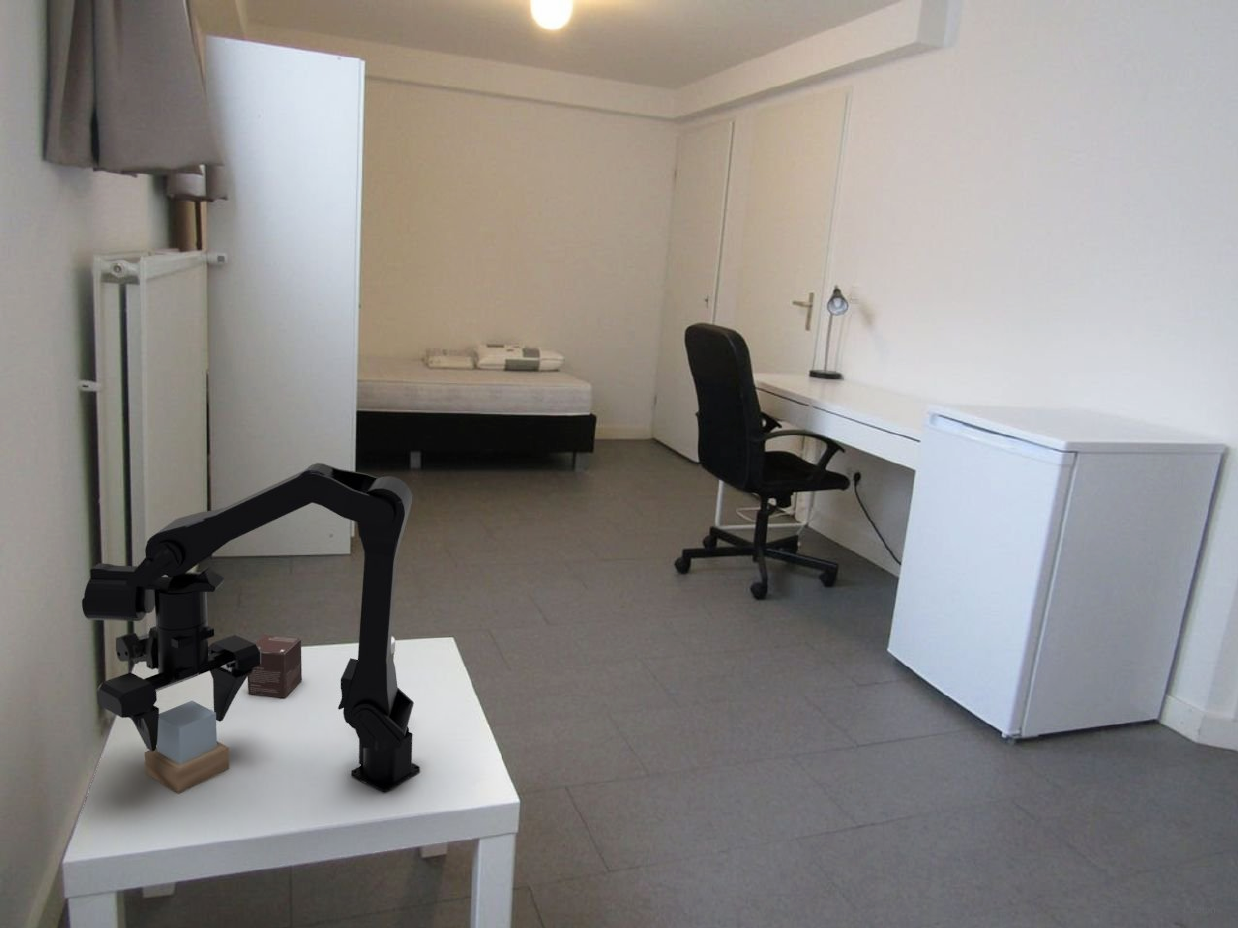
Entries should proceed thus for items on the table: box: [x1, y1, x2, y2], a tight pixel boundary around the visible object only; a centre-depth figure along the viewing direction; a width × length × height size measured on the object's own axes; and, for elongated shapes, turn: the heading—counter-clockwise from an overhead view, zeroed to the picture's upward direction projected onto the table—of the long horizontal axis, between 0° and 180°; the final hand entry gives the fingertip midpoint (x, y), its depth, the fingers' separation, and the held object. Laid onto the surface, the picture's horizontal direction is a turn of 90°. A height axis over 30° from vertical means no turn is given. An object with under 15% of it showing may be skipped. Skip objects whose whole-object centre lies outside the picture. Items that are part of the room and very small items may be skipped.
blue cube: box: [156, 700, 218, 765], centre depth 113 cm, size 5×5×5 cm
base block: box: [144, 741, 230, 794], centre depth 114 cm, size 7×7×3 cm
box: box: [246, 634, 303, 698], centre depth 136 cm, size 6×6×7 cm
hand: (186, 734), depth 113 cm, fingers open, 9 cm apart
